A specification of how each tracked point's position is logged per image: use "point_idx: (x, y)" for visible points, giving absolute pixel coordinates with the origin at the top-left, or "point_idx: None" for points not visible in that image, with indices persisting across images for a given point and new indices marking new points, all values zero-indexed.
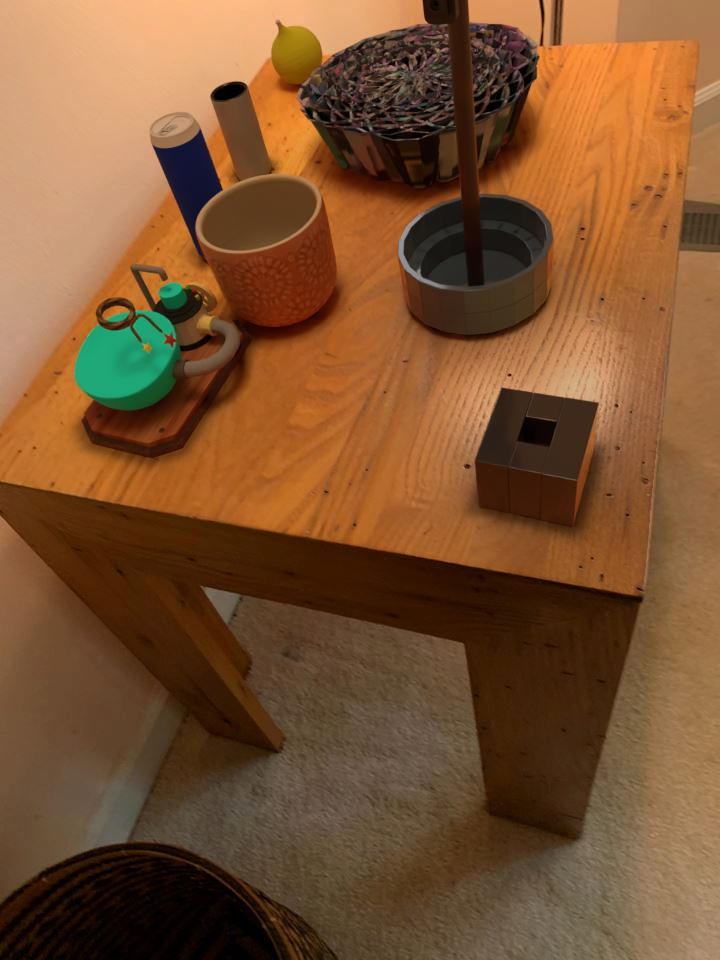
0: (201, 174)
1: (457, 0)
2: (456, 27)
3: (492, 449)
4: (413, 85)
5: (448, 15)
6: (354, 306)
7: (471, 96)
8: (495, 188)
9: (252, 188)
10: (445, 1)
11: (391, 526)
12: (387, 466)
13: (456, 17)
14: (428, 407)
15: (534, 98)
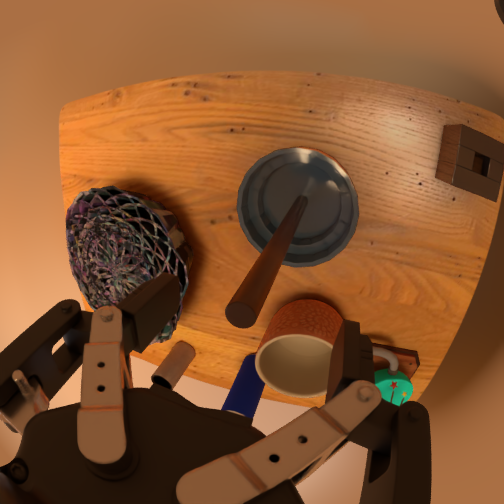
0: (249, 397)
1: (346, 331)
2: (265, 297)
3: (491, 191)
4: (126, 273)
5: (363, 335)
6: (316, 282)
7: (277, 248)
8: (187, 198)
9: (264, 372)
10: (370, 351)
11: (482, 238)
12: (450, 245)
13: (352, 321)
14: (411, 224)
15: (100, 186)
